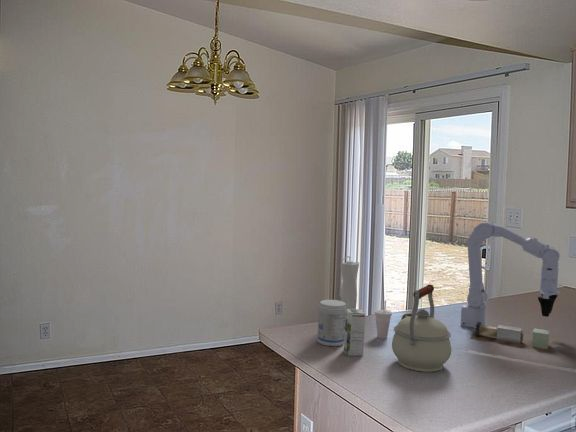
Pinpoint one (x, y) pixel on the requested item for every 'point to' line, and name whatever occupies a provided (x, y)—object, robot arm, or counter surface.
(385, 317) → the smoothie
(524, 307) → the counter surface
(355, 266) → the white bottle
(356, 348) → the syrup box
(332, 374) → the counter surface
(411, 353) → the kettle
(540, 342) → the socket block
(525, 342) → the walnut board
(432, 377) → the counter surface
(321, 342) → the supplement tub
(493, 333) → the slip rod
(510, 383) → the counter surface
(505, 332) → the metal sleeve
